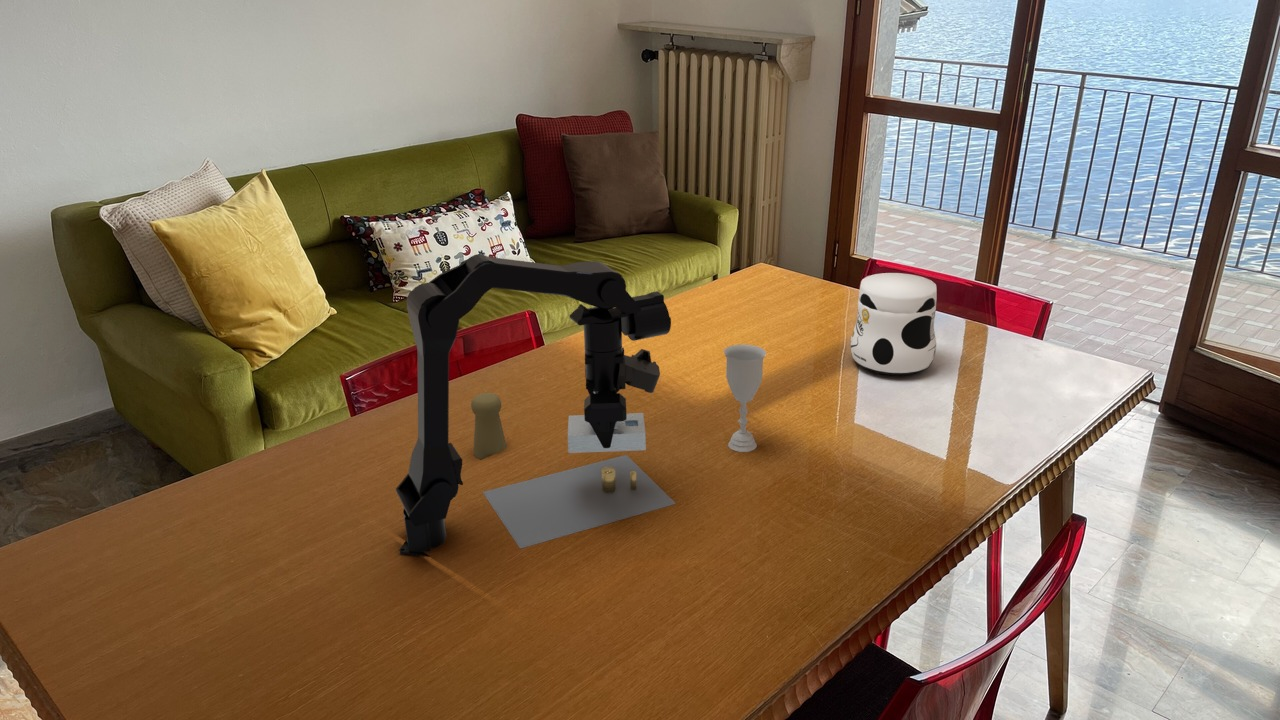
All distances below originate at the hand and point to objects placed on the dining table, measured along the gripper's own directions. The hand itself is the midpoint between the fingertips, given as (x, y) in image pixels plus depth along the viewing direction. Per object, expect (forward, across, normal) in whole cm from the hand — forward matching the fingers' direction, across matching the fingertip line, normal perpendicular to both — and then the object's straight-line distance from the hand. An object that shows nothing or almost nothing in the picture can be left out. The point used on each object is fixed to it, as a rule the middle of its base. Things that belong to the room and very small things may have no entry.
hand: (606, 436), depth 149 cm
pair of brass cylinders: (+10, 0, -2) cm, 10 cm away
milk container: (+11, +48, -60) cm, 78 cm away
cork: (+11, +16, +21) cm, 29 cm away
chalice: (+11, +15, -24) cm, 30 cm away
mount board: (+11, -2, +5) cm, 12 cm away
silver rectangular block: (+1, 0, 0) cm, 1 cm away
